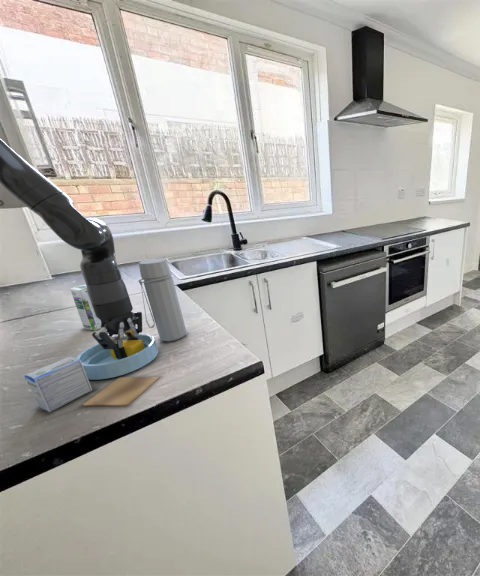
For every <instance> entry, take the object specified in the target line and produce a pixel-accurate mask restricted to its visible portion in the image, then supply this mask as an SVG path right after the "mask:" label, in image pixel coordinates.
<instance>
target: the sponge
mask: <svg viewBox="0 0 480 576" xmlns="http://www.w3.org/2000/svg"><path fill="white" fill-rule="evenodd" d="M122 341H123V346H124V349H125V352H126V354H127V357H129V356H131V355H134V354H136V353H138V352H140V351H142V350H143V349H145V348H144V345H143V341H142V340H122ZM110 351H111V354H112V357H113V359H117V358H116V356H115V353H114V351H113V349H110Z"/></svg>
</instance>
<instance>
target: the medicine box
mask: <svg viewBox="0 0 480 576" xmlns="http://www.w3.org/2000/svg"><path fill="white" fill-rule="evenodd" d="M24 379H25V381H26V382H27V385H28V387H29V388H30V390H31V393H32V395H33V398H34V399H35V401H36V404H37V405H38V407H39V408H41V409H42V410H45V411H46V412H48V413H51V412H54V411H55V410H57V409H59V408H61V407H63V406H65V405H67V404H69V403H71V402H73V401H74V400H76V399H78V398H80V397H83V396H84V395H86V394H88V393H90V392H92V391H93V387H92V386H91V382H90V379H88V378H87V375H86V372H85V370H84V367H83V365H82V362H81V360H78V359H76V358H75V357H71V356H67V357H65V358H62V359H60V360H58V361H55V362H52V363H50V364H47V365H45V366H43V367H41V368H38V369H36V370H34V371H31V372H29V373H26V374H24Z"/></svg>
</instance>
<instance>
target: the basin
mask: <svg viewBox="0 0 480 576" xmlns="http://www.w3.org/2000/svg"><path fill="white" fill-rule="evenodd" d="M137 338H138V340H142V341H143V345H144V348H145V349H143V350H142V351H140V352H138V353H136V354H134V355H131V356H129V357H126V358H123V359H120V360H119V359H113V357H112V354H111V351H110V349H106V350H105V349H103V347H102V346H101V345H100V344H99V343H98V342H97V343H96V344H94V345H92V346H90V347H88V348H86V349H84V350H82V351H81V353H79V354H78V355H77V356H76V358H75V359H78V360H81V362H82V365H83V367H84V370H85V372H86V375H87V378H88V380H89V381H91V380H93V381H95V380H96V381H97V380H106V379H111V378H116V377H121V376H124V375H126V374H129V373H132V372H134V371H136V370H139V369H141V368H144V366H147V365H148V364H149V363H151V362H152V361H153V360H155V358H156V357H157V356H158V354H159V349H158V345H157V342H156V339H155V337H154V336H153V335H151V334H147V333H139V334H138V337H137ZM127 339H128V338H127V337H126V335H124V338H123V339H122V340H127ZM115 343H117V340H115Z"/></svg>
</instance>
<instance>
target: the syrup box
mask: <svg viewBox="0 0 480 576" xmlns="http://www.w3.org/2000/svg"><path fill="white" fill-rule="evenodd" d="M69 291H70V294H71V296H72V299H73V301H74V305H75V307H76V310H77V314H78V316H79V318H80V322H81V324H82V327H83V328H84V329H85V330H89V331H94V332H96V331H99V330H100V329H101V320H100V319H99V318H97V317H96V315H95V312H94V309H93V306H92V304H91V301H90V298H89V295H88V292H87V286H86V284H82V285H78V286H74V287H71V288H69Z"/></svg>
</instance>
